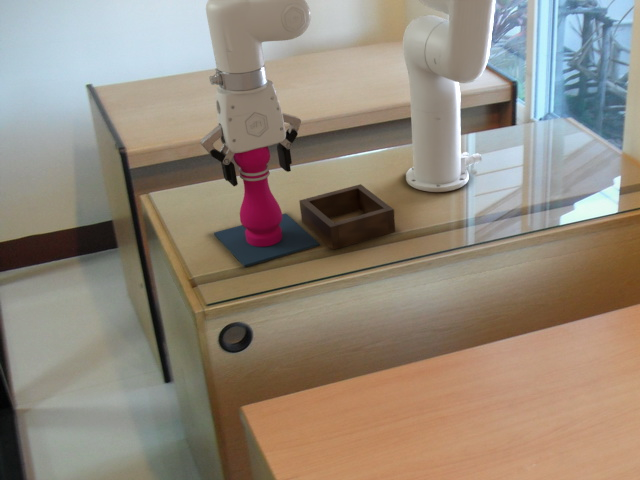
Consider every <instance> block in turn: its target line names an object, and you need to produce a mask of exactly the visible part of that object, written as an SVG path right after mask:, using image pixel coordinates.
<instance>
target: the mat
mask: <svg viewBox="0 0 640 480" xmlns="http://www.w3.org/2000/svg"><path fill="white" fill-rule="evenodd" d="M279 226H280V227H281V231H282V239H281V240H280V241H279V242H278V243H276V244H274V245H271V246H266V247H257V246H252V245H250V244H249V243H248V242H247V240H246V234H245V231H246V228H245V227H244V226H243V225H242V224H241V225H237V226H233V227H230V228H227V229H226V228H225V229H222V230H219V231H215V232H213V235H214V236H215V237H216V239H217V240H218V241H220V243H221V244H222V245H223V246H224V247H225V248H226V249H227V250H228V251H229V252H230V253H231V254H232V255H233V257H235V258H236V260H237V261H238V262H239V263H240V264H241V265H242V266H243V267H244V268H247V267H251V266H255V265H258V264H262V263H264V262H268V261H271V260H275V259H278V258H281V257H286V256H289V255H292V254H295V253H300V252H302V251H305V250H309V249H312V248H315V247H319V246H320V243H319V242H318V241H317V239H315V238H314V237H313V236H312V235H311V234H309V232H308V231H306V230H305V229H304V228H303V227H302V226H301V225H300V224H299V223H298V222H297V221H295V220H294V219H293V218H292V217H291V216H289V215H288V214H287V212H285V213H282V221H281V223H280V224H279Z"/></svg>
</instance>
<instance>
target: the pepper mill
mask: <svg viewBox="0 0 640 480" xmlns="http://www.w3.org/2000/svg"><path fill="white" fill-rule="evenodd" d="M270 160H271V152H270V149H269V146H267V147H263V148H258V149H254V150H251V151H247V152H242V153H235V155H234V156H233V161H234V163H235V164H236V165H237V166H238V173H239V178H240V179H241V180H242V182H243V189H244V193H243V198H242V202H241V205H240V209H239V220H240V223H241V225H243V226H244V227H245V228H246V231H245V234H246V240H247V242H248V243H249V244H250V245H252V246H257V247H266V246H271V245H274V244H276V243H278V242H279V241H280V240H281V239H282V231H281V227H280V226H279V224H280V223H281V221H282V214H283V212H282V209H281V207H280V204H279V203H278V201H277V199H276V198H275V196H274V194H273V192H272V191H271V189H270V184H269V178H268V177H269V176H270V173H271V172H270V167H269V164H268V163H269V162H270Z"/></svg>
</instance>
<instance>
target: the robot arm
mask: <svg viewBox="0 0 640 480" xmlns="http://www.w3.org/2000/svg"><path fill="white" fill-rule="evenodd" d="M418 1H419V3H421V4H422V5H424V6H425V7H428V8H430V9H432V10H434V11H438V12H440V13H443V14H446V15H448V19H445V18H443V17H440V16H436V15H429V14H425V15H420V16H417V17H415V18H413V19H412V20H411V21H410V22H409V23H408V25H407V26H406V28H405V30H404V32H403V38H402V53H403V57H404V62H405V67H406V70H407V76H408V77H407V78H408V84H409V98H410V120H411V122H410V123H411V124H410V125H411V144H412V145H411V146H412V147H411V148H412V167H410V168H409V169H408V170H407V171H406V173H405V180H406V183H407V184H408V185H409V186H411V187H412V188H414V189H416V190H419V191H423V192H429V193H445V192H451V191H454V190H455V191H456V190H458V189H460V188H463V187H464V186H465V185H466V184H467V183H468V182H469V179H470V178H469V176H470V175H469V170H467V169H468V168H469V166H471V165H477V164H480V163H481V162H482V161H483V159H482V156H481V154H480V153H473V154H469V152H468V151H465V152H462V151H461V150H462V147H461V146H462V145H461V143H462V140H461V137H462V136H461V90H460V84H470V83H474V82H475V81H477V80H478V79H479V78H480V77H481V76H482V75H483V73H484V72H485V70H486V67H487V64H488V61H489V57H490V50H491V44H492V35H493V34H492V33H493V26H494V16H495V9H496V6H495V5H496V0H418ZM205 13H206V14H205V15H206V19H207V24H208V29H209V34H210V41H211V45H212V50H213V56H214V61H215V67H216V68H214V69H215V73H214V74H213V75H210V76H208V77H209V78H208V79H209V83H210V85H212V86H215V85H216V86H217V87H216V91H215V92H216V93H215V101H216V102H215V107H216V108H215V109H216V120H217V121H216V122H217V125H216V126H215V127H214V128H213V129H212V130H211V131H209V132H208V133H207V134H205V136H203V137H202V138H201V139H200V141H199V143H200V144H201V146H202V147H203V148H204V149H205V151H207V153H208V154H209V155H210V156H211V157H212V158H214V159H215V160H217V161H219V162H220V165H221V169H222V175H223V178H224V180H225V181H226V182H228V183H230V185H231V186H233V187H237V186H238V185H239V184H238V183H239V182H238V178H237V177H238V176H237V171H236V168H235V167H236V166H235V164H234V163H233V162H232V160H233V159H234V157H233V156H234V155H235V153H242V152H247V151H251V150H254V149H258V148H263V147H267V146H268V147H271V146H275V145H277V146H276V151H277V157H278V165H279V167H280V168H281V169H283V170H284V171H285V172H287V173H289V172H292V169H291V164H293V161H292V154H291V149H292V148H293V143H294V141H295V140H296V139H297V137H298V132H299V130H300V127H301V123H302V120H301V118H299V117H298V116H295V115H292V114H288V113H285V112H283V111H282V107H281V104H280V100H279V97H278V94H277V93H278V92H277V90H276V88H275V85H274V82H273V81H272V80H270V79H268V77H267V76H268V75H267V71H266V65H265V64H266V63H265V57H264V51H263V44H262V43H265V42H283V41H284V42H285V41H289V40H294V39H296V38H298V37H300V36H302V35H303V34H304V33H305V32H306V31H307V30H308V28H309V26H310V24H311V19H312V16H311V9H310V6H309V5H308V3H307V2H306V0H207V2H206V4H205ZM285 123H287V124H289V126H288V128H287V130H286V125H285ZM219 139H220V142H221V144H222V145H221V147H220V149H217V148H215V146H214V144H215V143H216V142H217V141H218V140H219Z"/></svg>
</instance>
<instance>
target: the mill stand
mask: <svg viewBox="0 0 640 480" xmlns="http://www.w3.org/2000/svg"><path fill="white" fill-rule="evenodd" d="M298 201H299V208H300V217H301V223H302V224H303V225H304V226H305V227H306V228H308V229H309V231H311V232H312V233H313V234H314V235H315V236H317V238H319V239H320V240H321V241H322V242H323V243H325V244H326V245H327V246H328V248H330V249H331V250H333V251H334V250H338V249H341V248H345V247H348V246H351V245H355V244H358V243H362V242H365V241H367V240H372V239H375V238H378V237H383V236H385V235H389V234H391V233H395V232H396V220H395V219H396V218H395V209H394V208H393V207H391V206H390V205H389V204H387V202H385V201H384V200H383V199H381V198H380V197H378V196H377V195H376V194H375V193H373V192H371V191H370V190H369V189H368V188H366V187H365V186H364V185H363V184H361V183H360V184H356V185H352V186H348V187H344V188H340V189H337V190H334V191H330V192H325V193H322V194H319V195H315V196H311V197H307V198H303V199H299V200H298ZM359 211H360V212H361V213H363V214H359V215H356V216H352V217H350V218H349V217H348V218H345V219H342V220H338V221H333V220H331V219H332V218H336V217H340V216H343V215H346V214H347V215H348V214H351V213H354V212H359Z"/></svg>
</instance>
